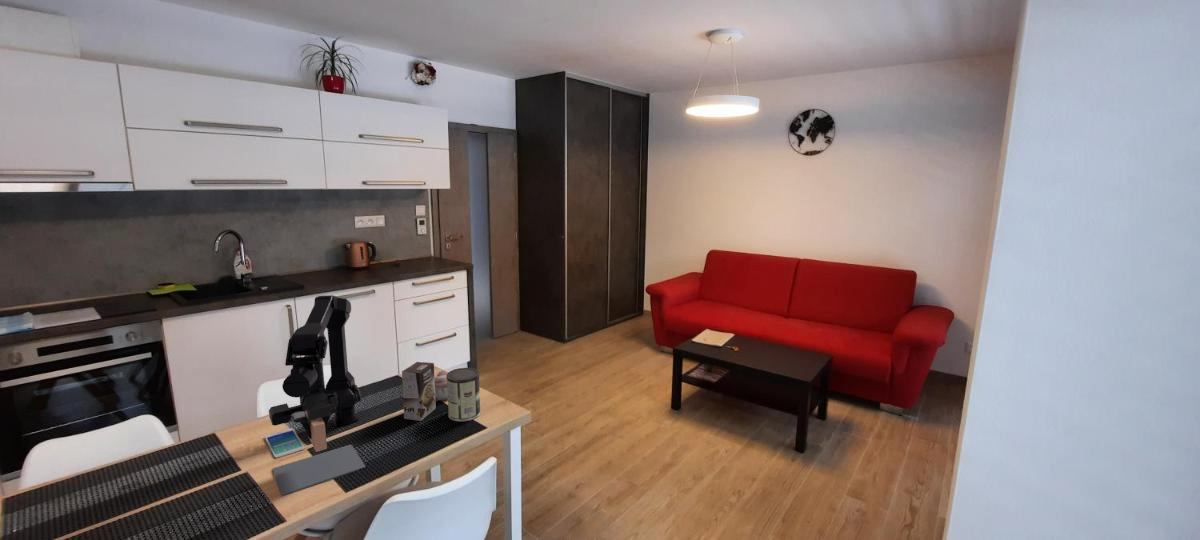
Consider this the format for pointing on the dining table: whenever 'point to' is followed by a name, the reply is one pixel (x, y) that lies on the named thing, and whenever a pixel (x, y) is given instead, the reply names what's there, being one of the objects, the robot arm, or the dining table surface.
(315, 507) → the dining table surface
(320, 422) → the block
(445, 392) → the cupcake
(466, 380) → the coffee can
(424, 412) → the coffee box
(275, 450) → the smartphone
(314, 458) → the mat
